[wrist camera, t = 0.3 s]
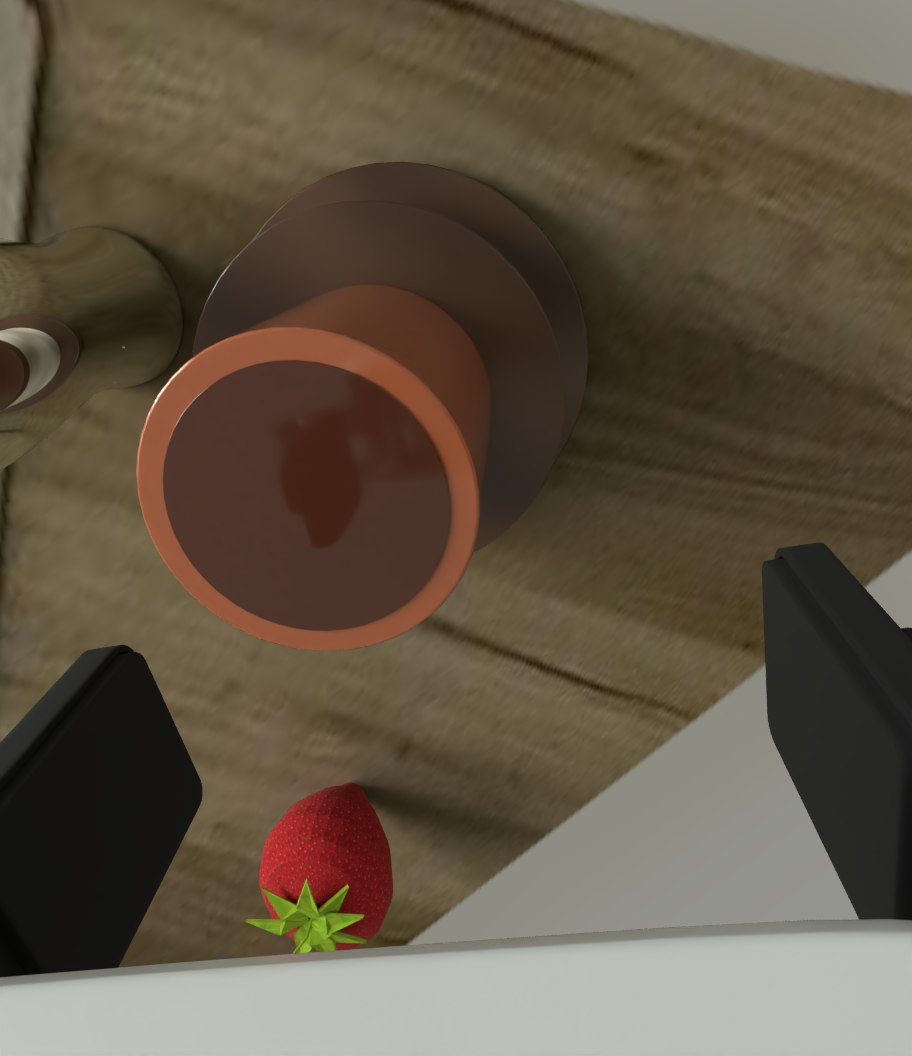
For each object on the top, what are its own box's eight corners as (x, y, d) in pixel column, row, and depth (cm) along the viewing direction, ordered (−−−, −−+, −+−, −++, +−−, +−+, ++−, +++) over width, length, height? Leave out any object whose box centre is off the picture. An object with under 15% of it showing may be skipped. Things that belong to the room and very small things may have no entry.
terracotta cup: (304, 240, 20) (184, 260, 13) (533, 349, 21) (541, 427, 14) (231, 458, 23) (100, 575, 16) (435, 547, 24) (399, 699, 17)
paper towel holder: (298, 91, 25) (224, 52, 19) (654, 268, 26) (697, 289, 20) (193, 441, 31) (108, 503, 24) (491, 571, 32) (484, 663, 26)
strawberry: (320, 847, 40) (262, 1037, 31) (277, 741, 37) (198, 916, 28) (423, 836, 39) (394, 1029, 30) (387, 726, 36) (342, 902, 27)
